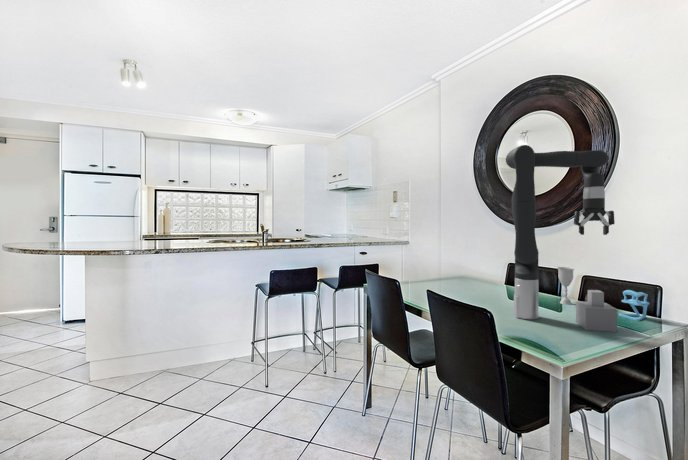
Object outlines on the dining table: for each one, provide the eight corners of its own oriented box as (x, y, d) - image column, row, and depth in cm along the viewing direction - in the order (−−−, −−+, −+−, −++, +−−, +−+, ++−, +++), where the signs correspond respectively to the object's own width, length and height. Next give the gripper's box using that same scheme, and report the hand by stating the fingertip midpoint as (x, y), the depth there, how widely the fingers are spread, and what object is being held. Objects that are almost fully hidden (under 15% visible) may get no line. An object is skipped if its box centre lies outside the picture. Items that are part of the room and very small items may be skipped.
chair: (652, 319, 138) (652, 291, 138) (637, 321, 136) (637, 292, 136) (632, 314, 146) (632, 287, 145) (618, 315, 144) (618, 288, 144)
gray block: (585, 329, 127) (585, 293, 127) (575, 321, 137) (575, 288, 136) (617, 332, 124) (617, 294, 124) (604, 323, 134) (605, 289, 133)
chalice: (574, 302, 167) (574, 267, 167) (574, 305, 161) (574, 269, 161) (557, 300, 171) (557, 266, 171) (557, 303, 165) (557, 268, 165)
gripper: (578, 197, 141) (577, 235, 142) (617, 196, 137) (617, 235, 137) (571, 198, 148) (571, 234, 149) (609, 197, 144) (609, 234, 144)
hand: (593, 234), depth 143 cm, fingers open, 8 cm apart
